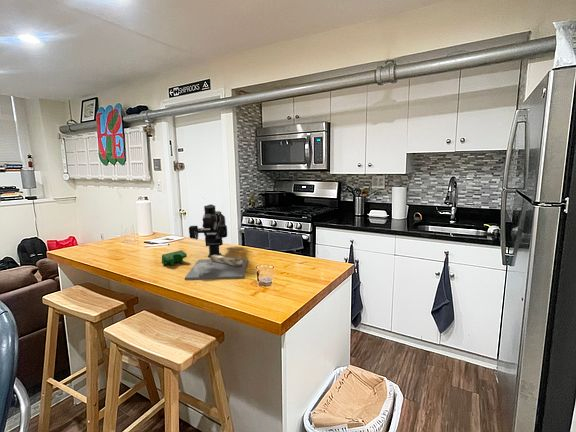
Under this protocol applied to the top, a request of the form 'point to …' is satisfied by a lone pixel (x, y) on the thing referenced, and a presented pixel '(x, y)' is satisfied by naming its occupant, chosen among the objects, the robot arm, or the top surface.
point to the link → (227, 260)
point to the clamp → (173, 257)
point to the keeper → (200, 266)
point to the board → (219, 271)
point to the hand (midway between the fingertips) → (205, 238)
